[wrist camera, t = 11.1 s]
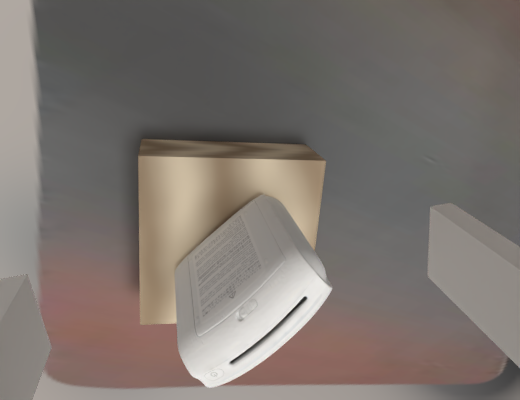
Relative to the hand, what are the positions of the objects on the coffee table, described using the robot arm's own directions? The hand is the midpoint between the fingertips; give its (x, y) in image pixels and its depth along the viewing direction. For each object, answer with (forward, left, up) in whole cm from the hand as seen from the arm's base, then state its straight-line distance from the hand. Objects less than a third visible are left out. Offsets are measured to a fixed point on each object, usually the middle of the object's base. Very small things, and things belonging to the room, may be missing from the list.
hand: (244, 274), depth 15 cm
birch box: (-1, +8, -26) cm, 27 cm away
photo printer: (-2, +8, -20) cm, 22 cm away
